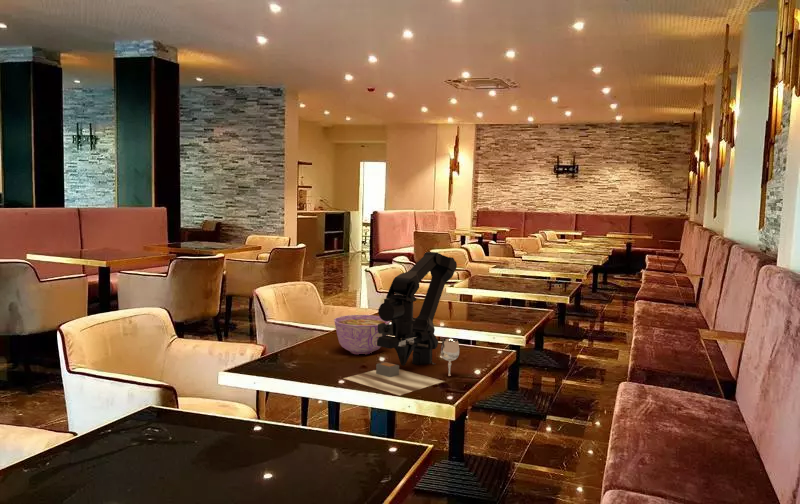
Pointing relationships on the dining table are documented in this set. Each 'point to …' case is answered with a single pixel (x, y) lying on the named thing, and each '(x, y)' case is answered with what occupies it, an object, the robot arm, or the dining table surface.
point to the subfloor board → (394, 381)
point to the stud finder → (387, 369)
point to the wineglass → (449, 351)
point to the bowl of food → (359, 332)
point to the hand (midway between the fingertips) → (402, 365)
